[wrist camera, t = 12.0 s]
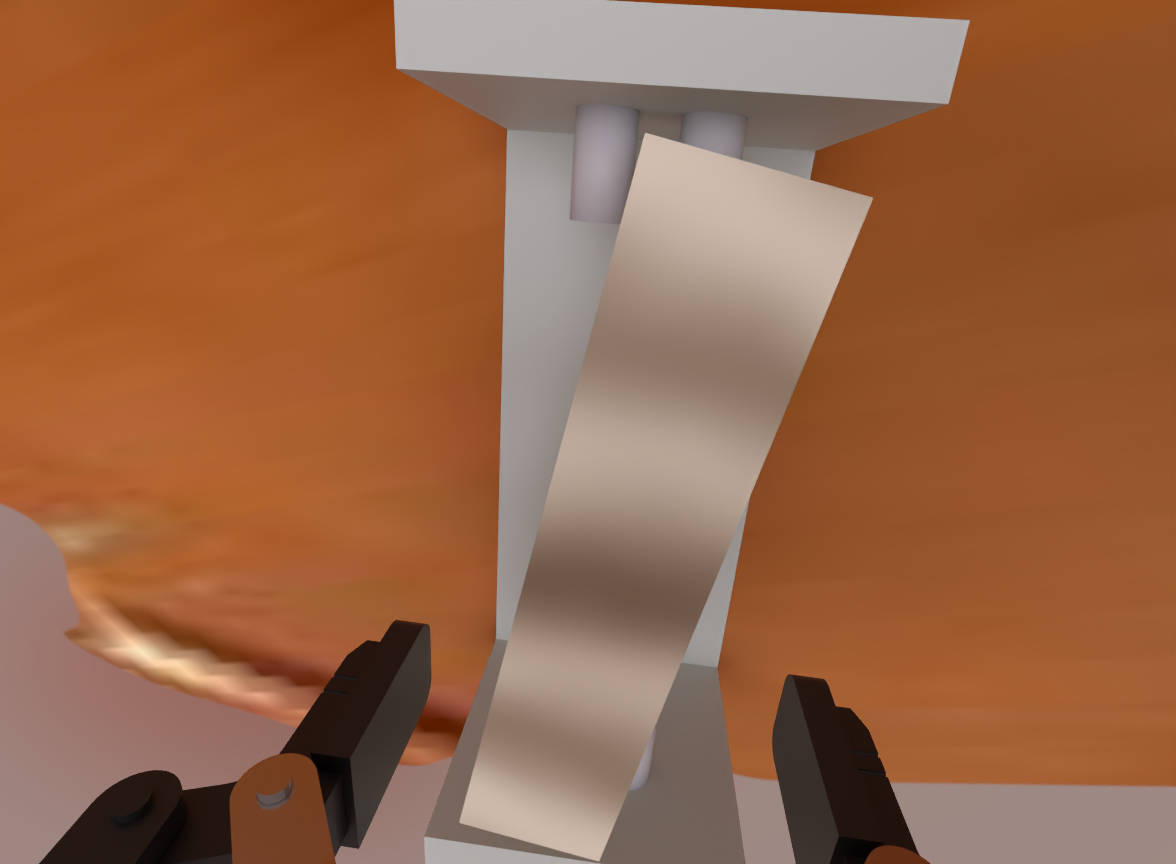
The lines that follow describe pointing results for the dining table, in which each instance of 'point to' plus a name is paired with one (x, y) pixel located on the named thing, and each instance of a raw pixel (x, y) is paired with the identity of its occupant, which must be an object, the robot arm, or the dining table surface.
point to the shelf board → (653, 476)
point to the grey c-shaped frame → (577, 275)
